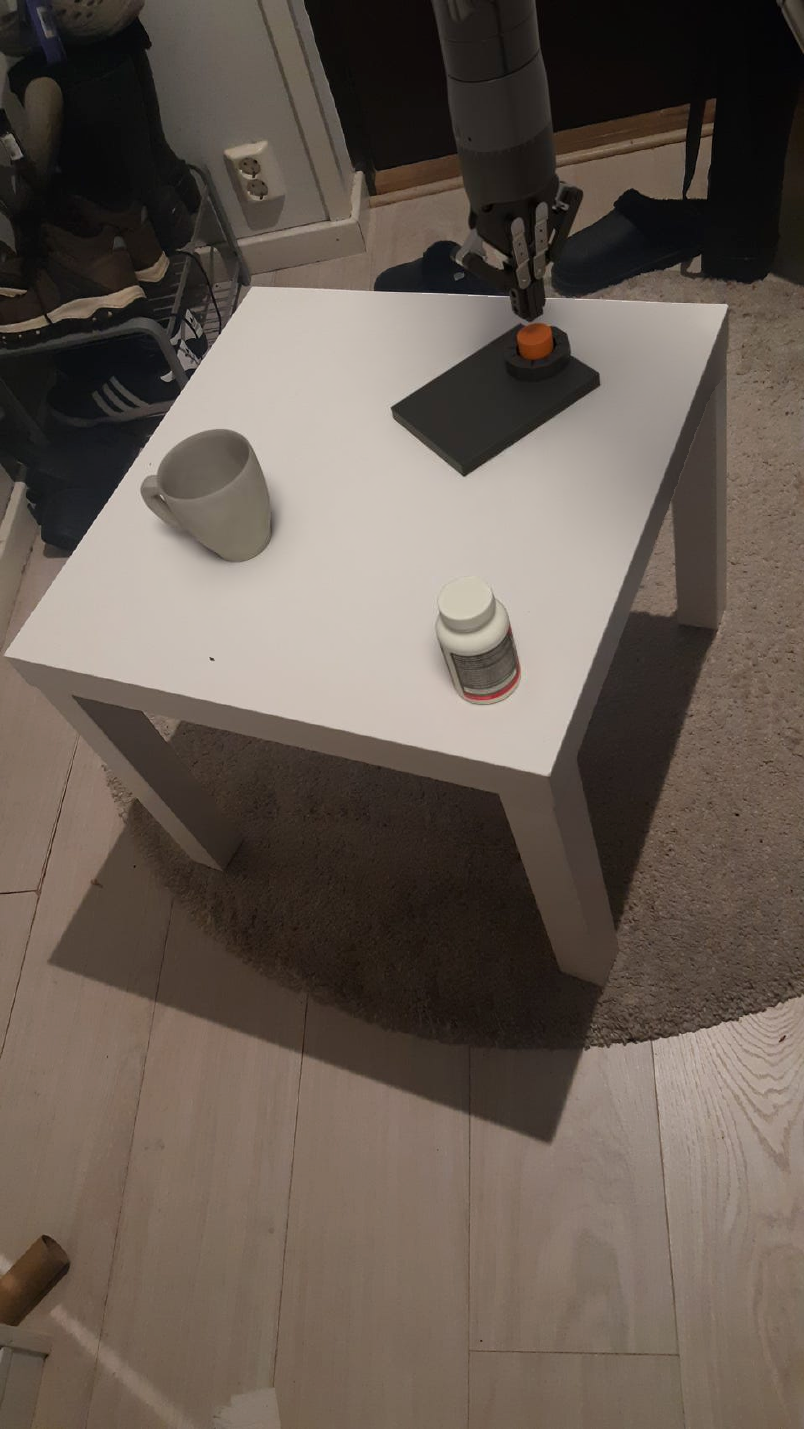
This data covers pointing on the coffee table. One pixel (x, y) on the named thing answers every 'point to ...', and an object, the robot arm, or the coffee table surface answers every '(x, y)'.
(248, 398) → the coffee table surface
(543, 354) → the button
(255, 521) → the mug
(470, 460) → the scale
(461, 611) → the pill bottle
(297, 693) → the coffee table surface
